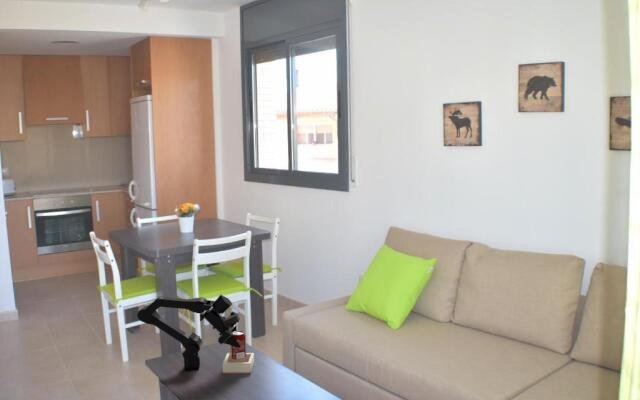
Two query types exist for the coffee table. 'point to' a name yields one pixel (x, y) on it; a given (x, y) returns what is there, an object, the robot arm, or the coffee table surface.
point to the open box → (238, 364)
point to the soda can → (240, 352)
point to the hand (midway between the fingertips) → (241, 344)
